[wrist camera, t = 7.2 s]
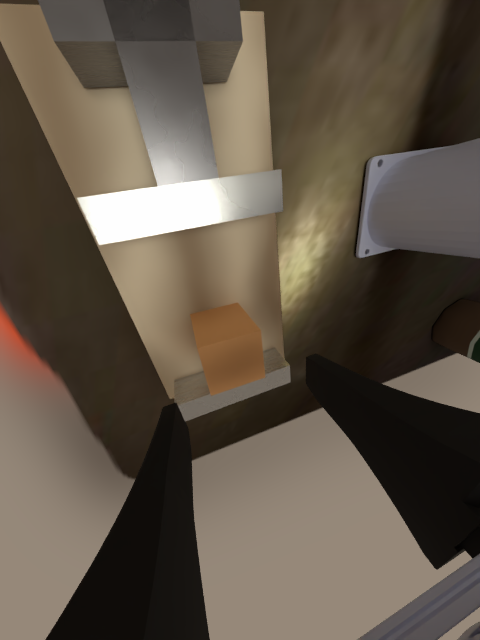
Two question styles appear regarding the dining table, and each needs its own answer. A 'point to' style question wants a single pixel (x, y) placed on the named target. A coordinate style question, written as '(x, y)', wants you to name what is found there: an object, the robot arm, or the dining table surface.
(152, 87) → the moving jaw
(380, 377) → the dining table surface
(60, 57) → the vise bed
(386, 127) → the dining table surface
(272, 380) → the fixed jaw
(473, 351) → the beer bottle
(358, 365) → the dining table surface
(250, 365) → the orange block
